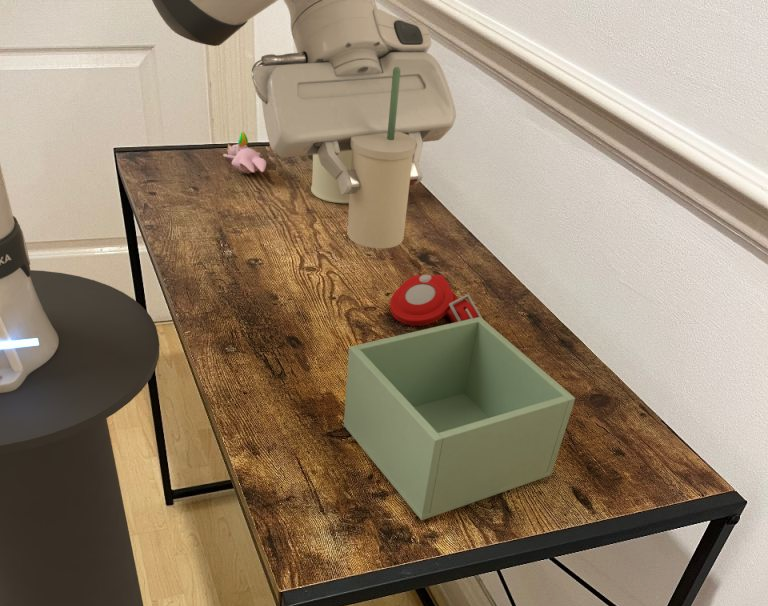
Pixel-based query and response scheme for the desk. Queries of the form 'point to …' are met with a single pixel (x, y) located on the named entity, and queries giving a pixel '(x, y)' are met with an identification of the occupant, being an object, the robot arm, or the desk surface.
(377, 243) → the paper cup
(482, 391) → the bin
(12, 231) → the robot arm
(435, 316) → the red flat rounded piece
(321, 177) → the can
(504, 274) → the desk surface
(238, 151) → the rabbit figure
